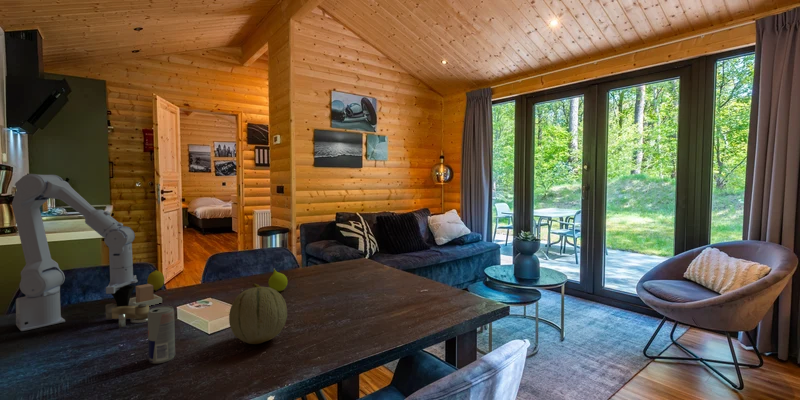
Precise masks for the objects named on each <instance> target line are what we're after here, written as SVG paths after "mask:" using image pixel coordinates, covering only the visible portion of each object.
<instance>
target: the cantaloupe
mask: <svg viewBox="0 0 800 400" xmlns="http://www.w3.org/2000/svg"><path fill="white" fill-rule="evenodd" d="M287 317H288V307H287V303H286V300H285V298H284V297H283V295H282V294H281V293H280V291H279V292H277V291H276V290H275V289H272V288H270V287H269V286H268V287H267V286H260V285H259V284H257V283H252V287H251V288H247V289H245V290H244V291H242V292H241V293H239V294H238V295H237V296H236V297H235V299H234V300H233V302H232V304H231V305H230V309H229V313H228V323H229V327H230V329H231V331H232V334H233V335H234V336H235V337H236V338H237V339H238V340H240V341H242V342H244V343H246V344H249V345H260V344H262V343H265V342H268V341H270V340H272V339H274V338H275V337H277V336H278V335H279V334H280V333H281V332H282V330H283V329H284V327H285V325H286V323H287Z"/></svg>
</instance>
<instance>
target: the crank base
mask: <svg viewBox="0 0 800 400" xmlns="http://www.w3.org/2000/svg"><path fill="white" fill-rule="evenodd" d="M126 322H127V318H126V314H125V313H122V314H119V319H118V327H119V329H120V328H124V327H126V326H127V325H126V324H127V323H126ZM146 322H147V323H148V317H147V318H144V319H136V318H130V323H131V324H142V323H146Z"/></svg>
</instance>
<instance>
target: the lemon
mask: <svg viewBox="0 0 800 400" xmlns="http://www.w3.org/2000/svg"><path fill="white" fill-rule="evenodd" d="M146 284H151V285H153V291H159V289H161V288H162V287H163V286H164V285H165V276H164V274H163V272H161V271H159V270H157V269H156V270H153V271H151V273H149V274H148V276H147V283H146Z"/></svg>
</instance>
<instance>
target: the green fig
mask: <svg viewBox="0 0 800 400" xmlns="http://www.w3.org/2000/svg"><path fill="white" fill-rule="evenodd" d="M272 271H273V272H272V274H271V276H270V277H269V279H268V282H267V283H268V287H269V288H272V289H275V290H276V291H277V292H279V293H280V292H282V291H284V290H285V289H286V288H287V285H288V282H289V280H288V277H287V276H286V275H285V274H284V273H281V272H278V271H277V270H276V268H274V267H273V268H272Z"/></svg>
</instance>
